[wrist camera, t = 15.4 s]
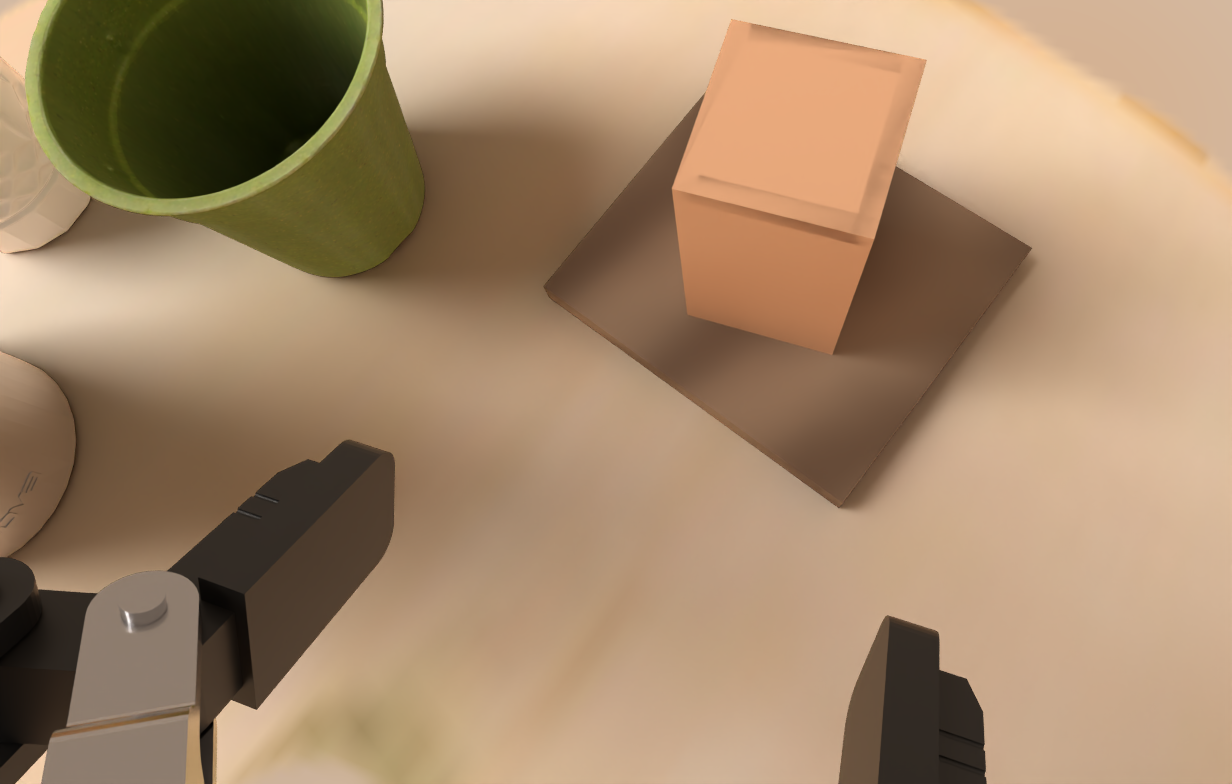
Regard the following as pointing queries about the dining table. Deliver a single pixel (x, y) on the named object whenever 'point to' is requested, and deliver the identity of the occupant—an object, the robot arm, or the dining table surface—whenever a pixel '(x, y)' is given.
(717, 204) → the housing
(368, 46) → the plant pot
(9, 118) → the white cup
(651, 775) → the dining table surface
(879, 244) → the plate
